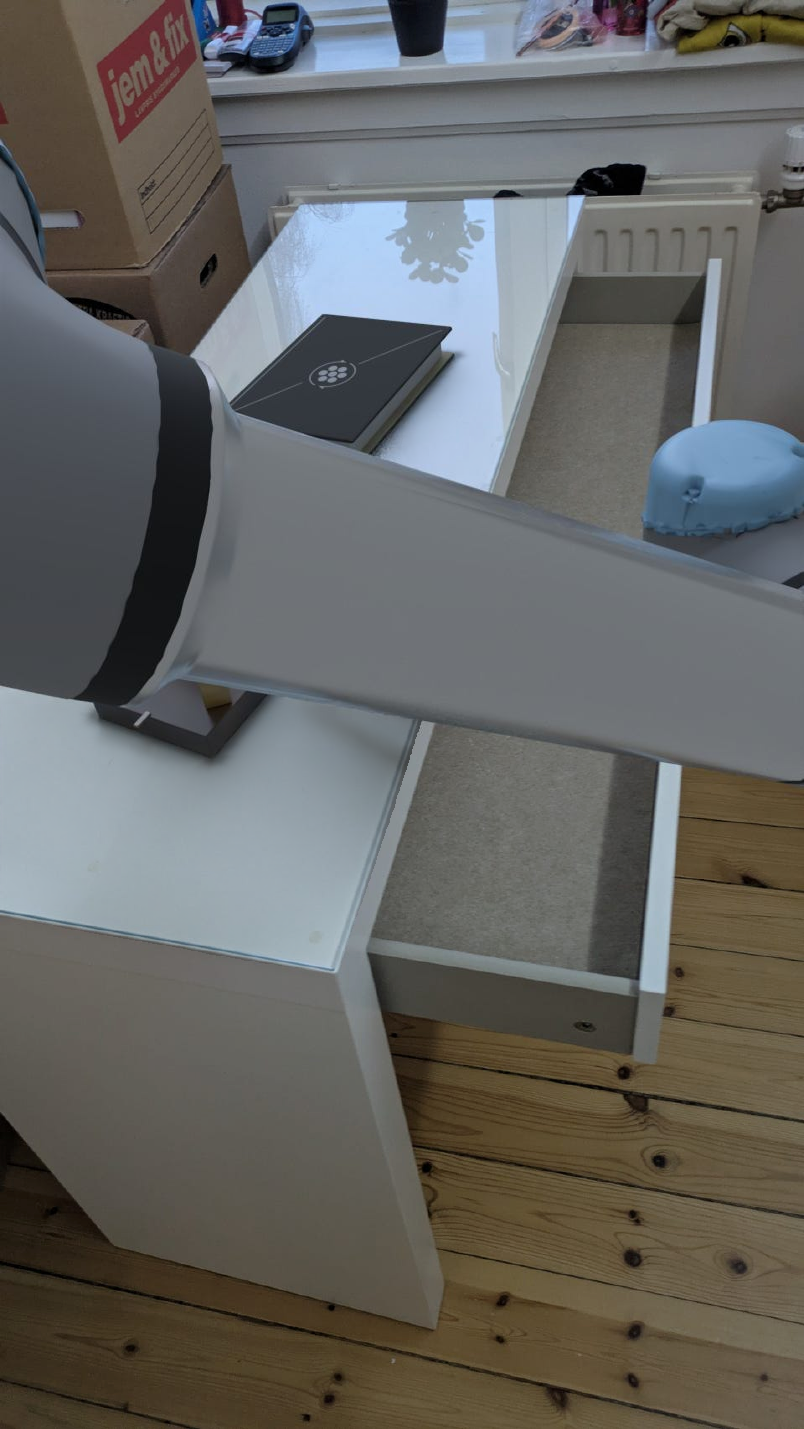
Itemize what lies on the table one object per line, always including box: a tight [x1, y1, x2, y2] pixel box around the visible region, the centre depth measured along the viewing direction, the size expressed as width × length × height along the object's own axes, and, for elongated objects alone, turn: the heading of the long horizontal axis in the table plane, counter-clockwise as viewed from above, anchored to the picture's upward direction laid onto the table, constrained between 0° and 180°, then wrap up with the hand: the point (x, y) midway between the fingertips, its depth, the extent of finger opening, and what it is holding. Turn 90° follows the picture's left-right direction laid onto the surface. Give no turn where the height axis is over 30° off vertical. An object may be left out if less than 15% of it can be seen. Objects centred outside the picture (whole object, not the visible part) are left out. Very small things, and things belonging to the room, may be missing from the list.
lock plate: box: [92, 679, 268, 758], centre depth 78 cm, size 16×10×2 cm, turn 151°
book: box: [228, 313, 455, 455], centre depth 104 cm, size 22×15×3 cm
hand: (227, 567), depth 75 cm, fingers closed
